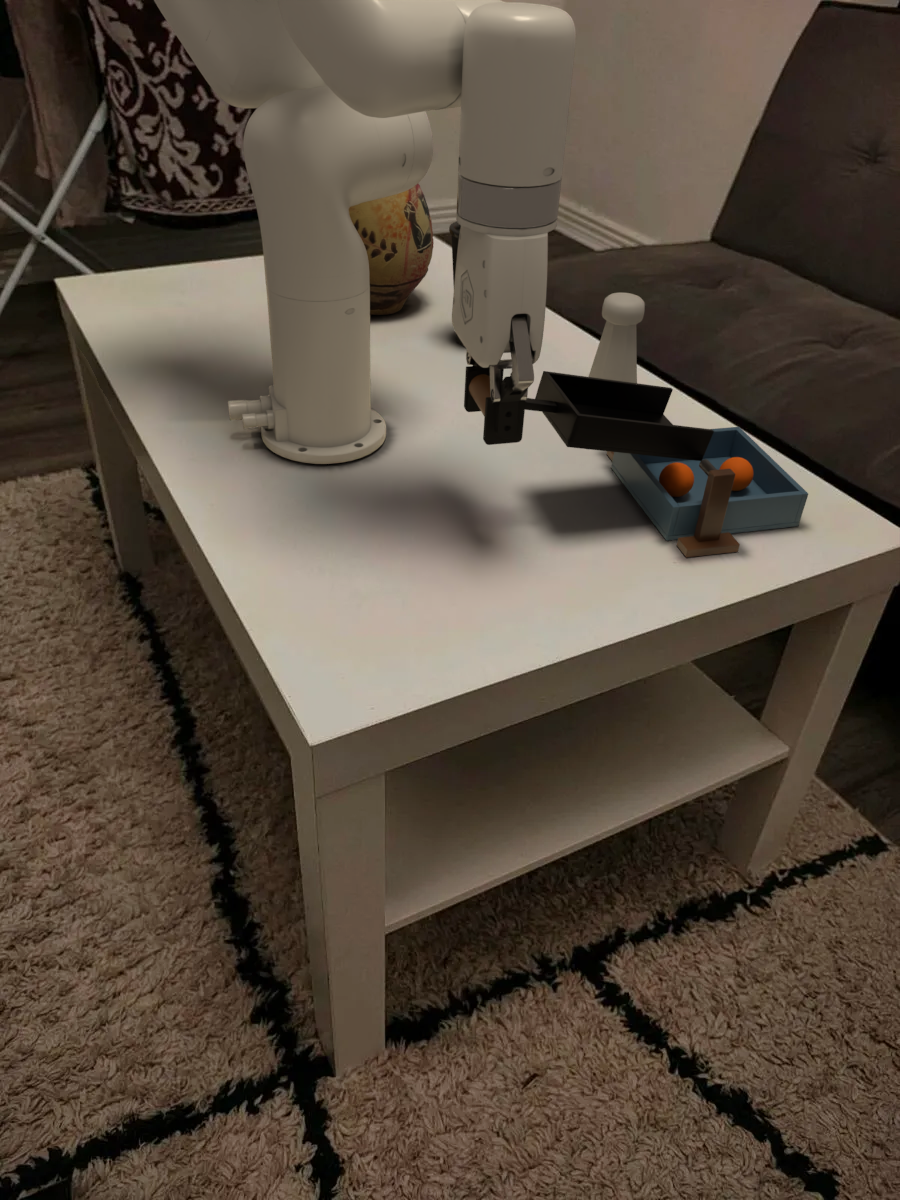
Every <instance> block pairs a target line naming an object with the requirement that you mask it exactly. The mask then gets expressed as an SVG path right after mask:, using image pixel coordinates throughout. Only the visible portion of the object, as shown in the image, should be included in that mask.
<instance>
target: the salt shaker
mask: <svg viewBox="0 0 900 1200" xmlns="http://www.w3.org/2000/svg"><path fill="white" fill-rule="evenodd" d="M645 306H646V302H645V301H644V299H642V297H640V296H639V295H636V294H634V293H629V292H614V293H611V294H608V295H607V296H606V297H604V301H603V303H602V308H601V316H602V318H603V319H604V320H605V324H604V328H603V331H602V333H601V337H600V340H599V343H598V346H597V350H596V352H595V355H594V358H593V362H592V365H591V368H590V370H589V374H588V376H587V377H593V378H600V379H608V380H616V381H623V382H631V383H638V373H637V372H638V363H637V360H638V359H637V358H638V354H637V351H638V349H637V343H638V342H637V340H638V339H637V325H638V324H639V323H642V322H643V319H644V316H645V311H646V310H645V308H646V307H645Z"/></svg>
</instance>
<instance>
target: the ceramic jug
mask: <svg viewBox="0 0 900 1200" xmlns="http://www.w3.org/2000/svg"><path fill="white" fill-rule="evenodd" d="M349 215H350V218H351V221H352V223H353V225H354V227H355V228H356V230H357V232H358V234H359V236H360V237H361V239H362V241H363V243H364V246H365V248H366V252H367V256H368V261H369V284H370V317H371V316H389V315H392V314H395V313H398V312H399V311H401V310H402V309H403V307H404V306H405V303H406V302H407V300H408V298H409V297H410V295H411V294H412V292H413V291H414V290H415V289H416V288H417V287H418V286H419V284H420V283H422V281H423V280H424V278H425V277H426V276H427V274H428V271H429V267H430V264H431V262H432V257H433V252H434V245H435V244H434V243H435V242H434V231H433V222H432V217H431V214H430V209H429V206H428V203H427V200H426V198H425V194H424V192H423V190H422V188H421V185H420V184H419V183H418V184H417V185H415V186H414V187H412V188H411V189H409V190H407V191H404V192H402V193H399V194H396V195H392V196H388V197H384V198H380V199H376V200H372V201H367V202H363V203H360V204H358V205H354V206H351V207H349Z"/></svg>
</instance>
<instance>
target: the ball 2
mask: <svg viewBox="0 0 900 1200" xmlns="http://www.w3.org/2000/svg"><path fill="white" fill-rule="evenodd" d="M721 469H731V470H732V471H733V472H734V473H735V478H734V482H733V486H732V490H731V491H740V490H743V489H745V488H746V487H747V486H749V484H750V483H751V481H752V479H753V474H754V473H753V468H752V466H751V464H750V463H749V462H748V461H747V460H745V459H744V458H740V457H733V458H730V459H728V460H726V461H725V462H724V463H723V464H722V465H721V467H720V469H719V470H721Z"/></svg>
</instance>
